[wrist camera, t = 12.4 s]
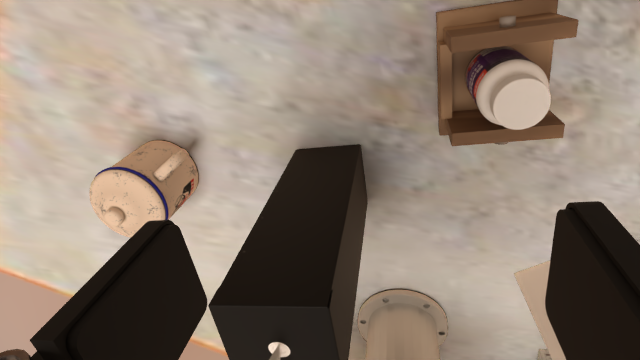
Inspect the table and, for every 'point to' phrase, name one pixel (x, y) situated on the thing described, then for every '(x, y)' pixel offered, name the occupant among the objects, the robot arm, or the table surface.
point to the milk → (539, 304)
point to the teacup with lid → (144, 187)
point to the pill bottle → (508, 88)
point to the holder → (488, 32)
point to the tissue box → (299, 264)
